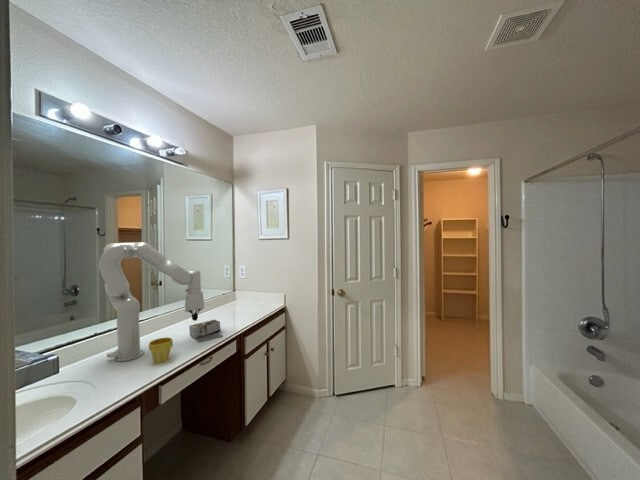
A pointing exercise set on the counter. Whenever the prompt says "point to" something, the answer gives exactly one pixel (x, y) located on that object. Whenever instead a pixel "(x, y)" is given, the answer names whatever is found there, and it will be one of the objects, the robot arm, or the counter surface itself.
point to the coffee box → (204, 328)
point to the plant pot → (160, 349)
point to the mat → (209, 337)
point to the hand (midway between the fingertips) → (194, 320)
